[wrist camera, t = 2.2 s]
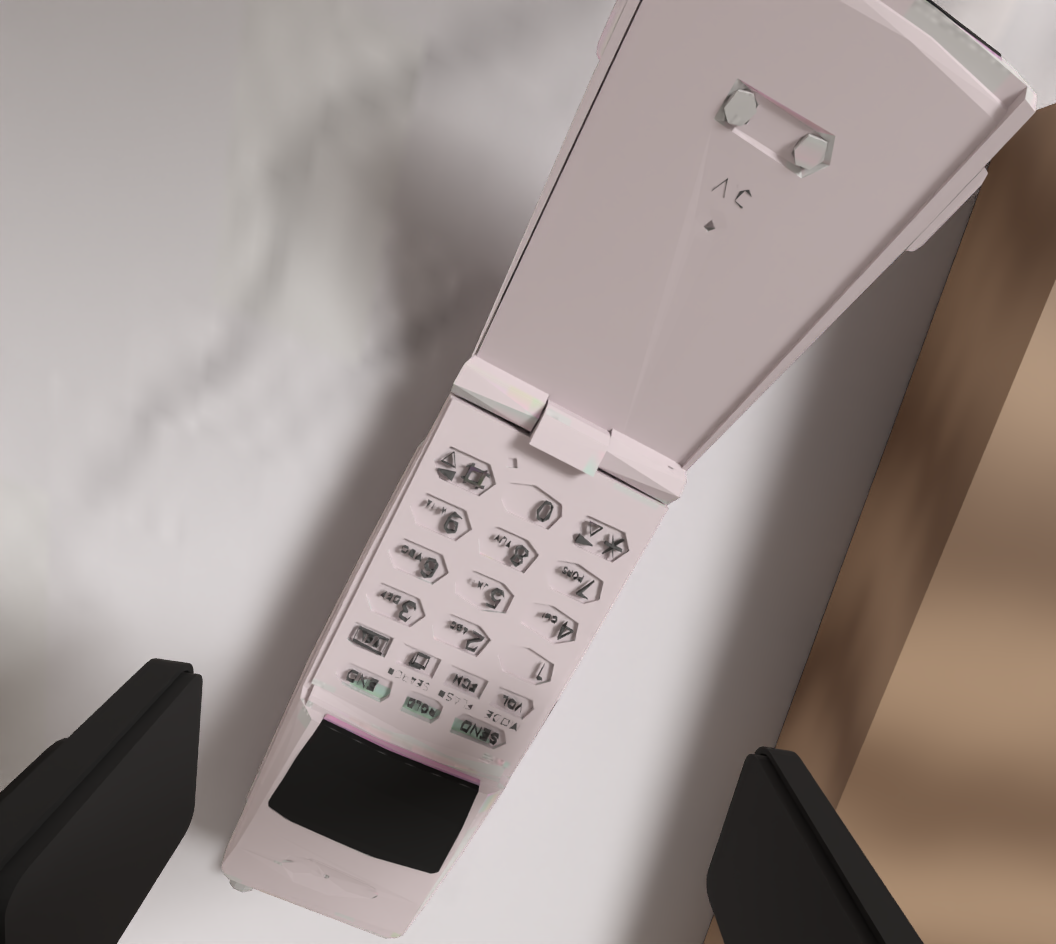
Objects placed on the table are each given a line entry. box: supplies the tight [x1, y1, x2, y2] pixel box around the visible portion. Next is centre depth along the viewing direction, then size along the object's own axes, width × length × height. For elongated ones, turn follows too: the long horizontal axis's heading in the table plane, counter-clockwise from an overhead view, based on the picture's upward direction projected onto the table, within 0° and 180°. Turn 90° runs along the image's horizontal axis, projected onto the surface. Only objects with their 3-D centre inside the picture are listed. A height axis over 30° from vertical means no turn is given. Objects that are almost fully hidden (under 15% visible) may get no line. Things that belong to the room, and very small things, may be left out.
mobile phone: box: [221, 0, 1037, 939], centre depth 13 cm, size 6×6×25 cm
